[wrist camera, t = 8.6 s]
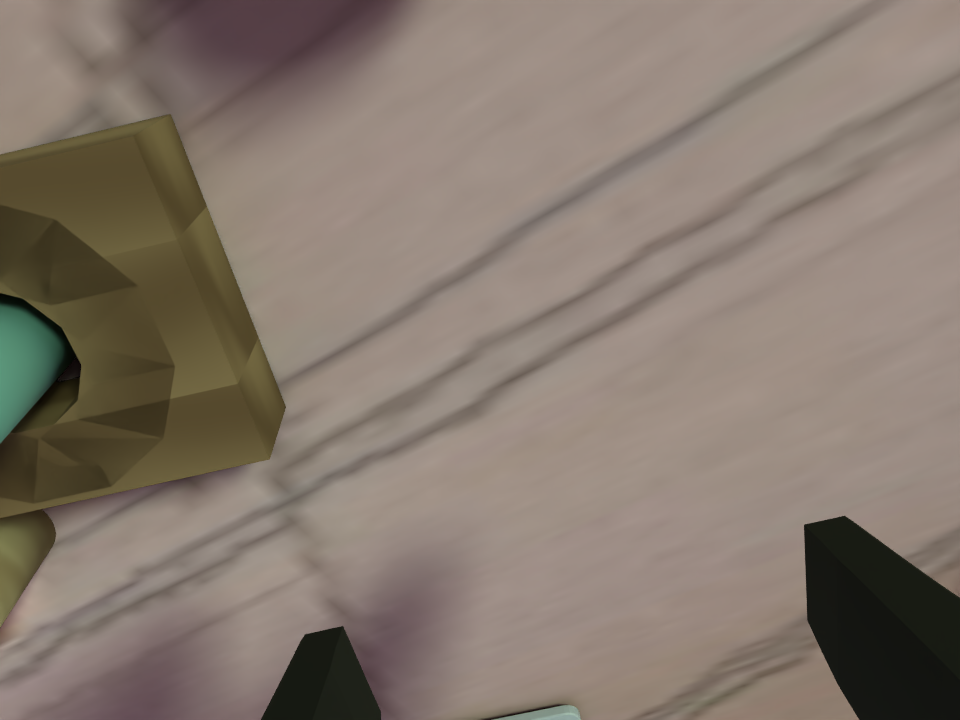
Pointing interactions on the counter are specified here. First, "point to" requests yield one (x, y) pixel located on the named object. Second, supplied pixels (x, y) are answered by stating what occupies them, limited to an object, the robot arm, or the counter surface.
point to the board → (128, 321)
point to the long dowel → (27, 358)
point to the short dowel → (21, 553)
